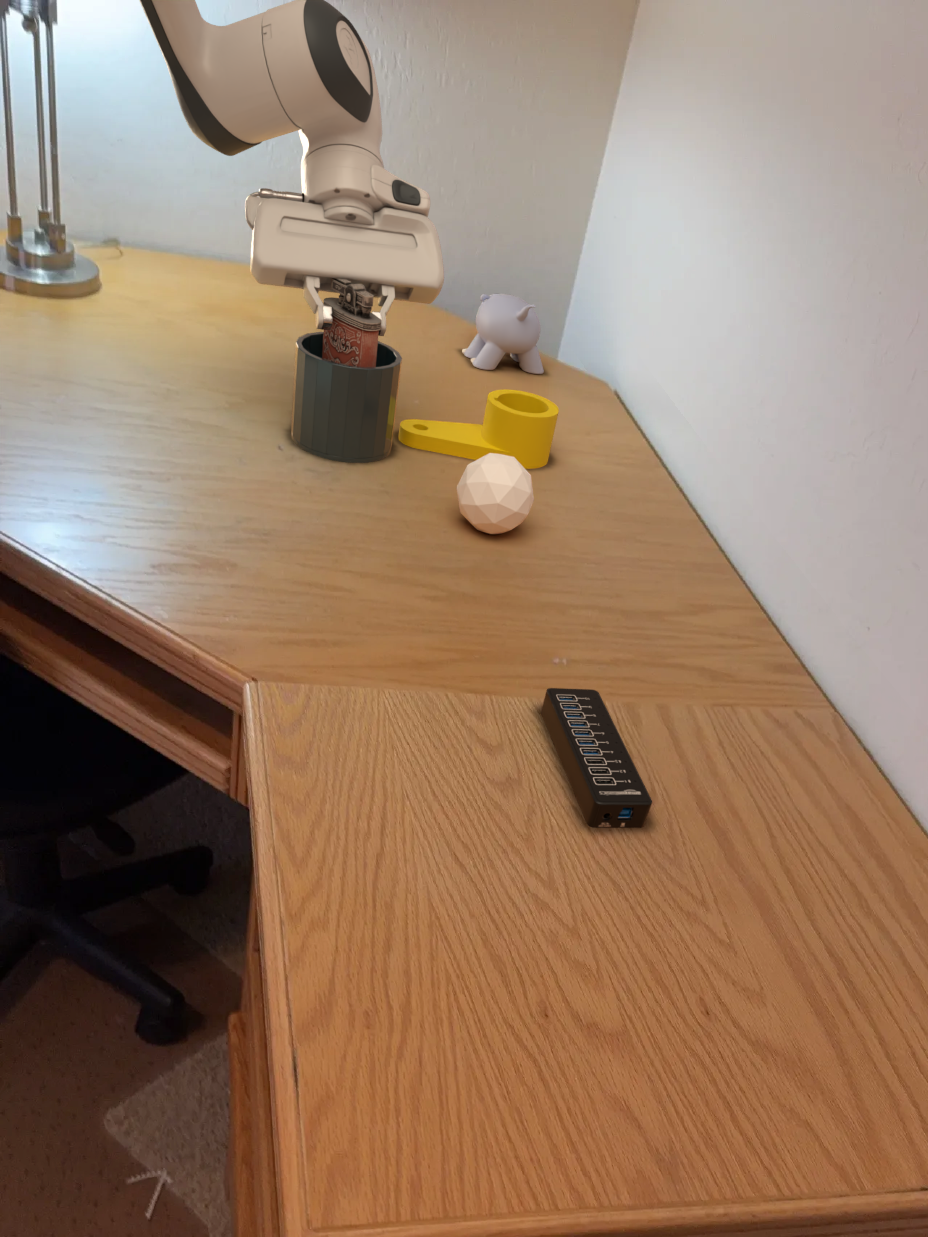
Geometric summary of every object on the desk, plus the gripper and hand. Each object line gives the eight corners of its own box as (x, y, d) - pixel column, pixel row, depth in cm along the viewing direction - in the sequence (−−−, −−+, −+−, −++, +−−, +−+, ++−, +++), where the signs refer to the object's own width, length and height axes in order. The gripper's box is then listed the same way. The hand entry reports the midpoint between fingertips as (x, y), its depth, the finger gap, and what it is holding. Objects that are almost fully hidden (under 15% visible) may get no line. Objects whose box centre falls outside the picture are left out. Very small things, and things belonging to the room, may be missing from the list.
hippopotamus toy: (517, 345, 159) (529, 275, 153) (551, 381, 149) (566, 308, 143) (449, 338, 156) (459, 267, 149) (480, 375, 146) (492, 300, 139)
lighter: (382, 395, 114) (391, 294, 108) (357, 398, 112) (365, 297, 106) (337, 368, 118) (343, 270, 111) (312, 371, 116) (317, 271, 109)
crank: (541, 445, 130) (552, 395, 126) (552, 472, 124) (564, 421, 120) (396, 425, 126) (402, 373, 122) (400, 452, 120) (407, 398, 116)
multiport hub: (590, 712, 86) (597, 688, 85) (645, 828, 76) (654, 803, 75) (539, 710, 85) (545, 686, 84) (588, 828, 75) (596, 803, 73)
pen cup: (298, 459, 114) (304, 362, 107) (285, 419, 121) (289, 326, 115) (399, 466, 117) (411, 373, 111) (380, 427, 125) (390, 337, 118)
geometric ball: (504, 556, 111) (558, 515, 106) (447, 537, 106) (501, 492, 100) (489, 494, 113) (542, 451, 108) (433, 472, 108) (485, 425, 102)
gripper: (246, 165, 105) (254, 302, 105) (444, 195, 111) (452, 324, 111) (241, 205, 111) (248, 334, 111) (428, 231, 117) (436, 354, 117)
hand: (351, 329), depth 111 cm, fingers closed on lighter, 4 cm apart
